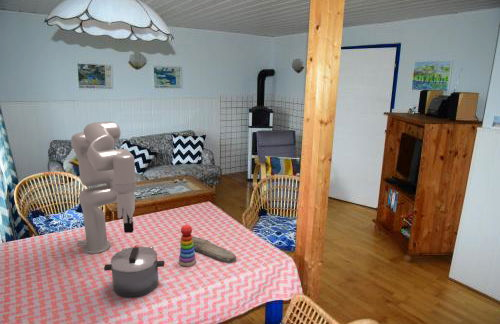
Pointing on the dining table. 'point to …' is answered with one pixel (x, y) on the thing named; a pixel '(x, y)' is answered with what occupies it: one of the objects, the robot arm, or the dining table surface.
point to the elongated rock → (213, 250)
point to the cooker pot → (135, 281)
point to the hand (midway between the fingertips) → (129, 231)
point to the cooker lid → (134, 259)
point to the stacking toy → (187, 247)
